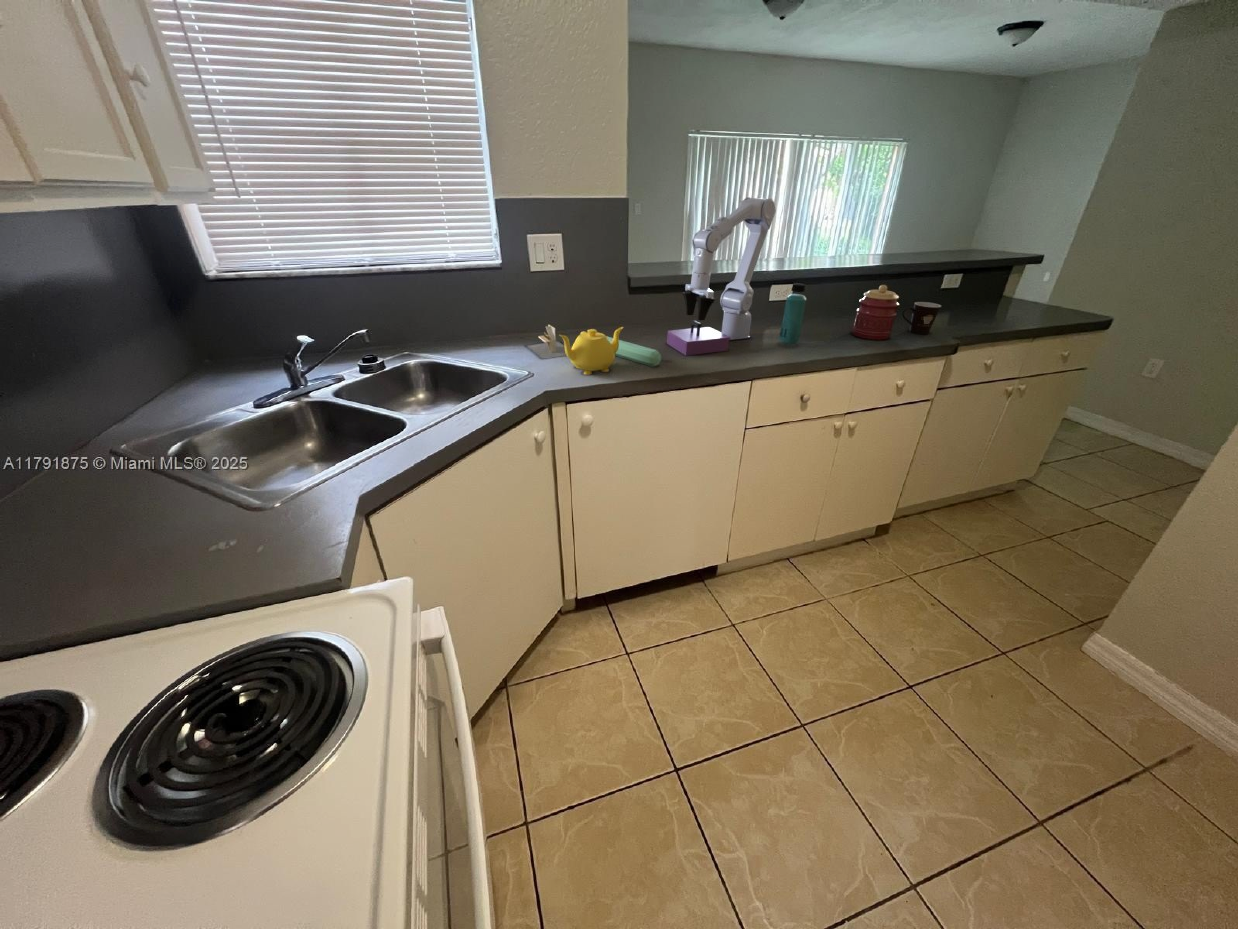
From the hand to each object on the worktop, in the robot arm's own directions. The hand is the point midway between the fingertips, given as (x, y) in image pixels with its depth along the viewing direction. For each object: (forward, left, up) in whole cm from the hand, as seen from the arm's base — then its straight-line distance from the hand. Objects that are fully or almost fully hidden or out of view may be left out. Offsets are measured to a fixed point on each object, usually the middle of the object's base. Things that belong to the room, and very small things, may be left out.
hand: (695, 317), depth 158 cm
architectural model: (+46, -13, -10) cm, 48 cm away
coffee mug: (-90, +9, -10) cm, 91 cm away
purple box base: (-1, 0, -10) cm, 10 cm away
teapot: (+39, +8, -10) cm, 41 cm away
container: (+26, +3, -10) cm, 28 cm away
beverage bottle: (-32, +8, -10) cm, 35 cm away
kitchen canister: (-69, +8, -10) cm, 71 cm away
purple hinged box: (-2, 0, -6) cm, 6 cm away
